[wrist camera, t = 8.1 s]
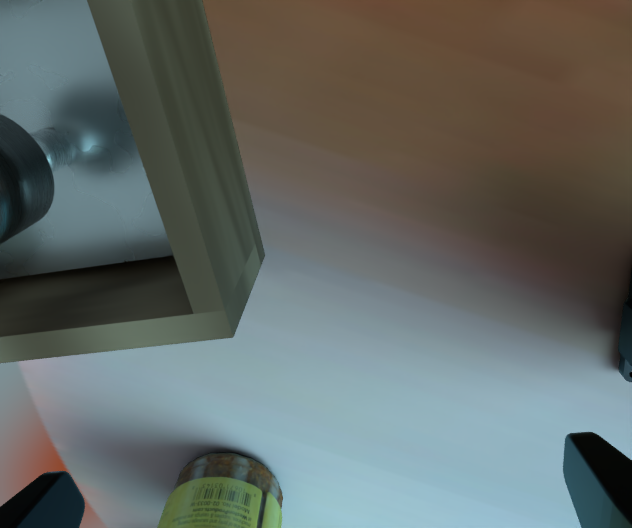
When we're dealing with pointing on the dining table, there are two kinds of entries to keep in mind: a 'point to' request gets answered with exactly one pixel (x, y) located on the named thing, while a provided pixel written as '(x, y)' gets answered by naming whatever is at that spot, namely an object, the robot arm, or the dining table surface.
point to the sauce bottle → (224, 495)
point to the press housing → (171, 199)
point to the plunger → (66, 149)
